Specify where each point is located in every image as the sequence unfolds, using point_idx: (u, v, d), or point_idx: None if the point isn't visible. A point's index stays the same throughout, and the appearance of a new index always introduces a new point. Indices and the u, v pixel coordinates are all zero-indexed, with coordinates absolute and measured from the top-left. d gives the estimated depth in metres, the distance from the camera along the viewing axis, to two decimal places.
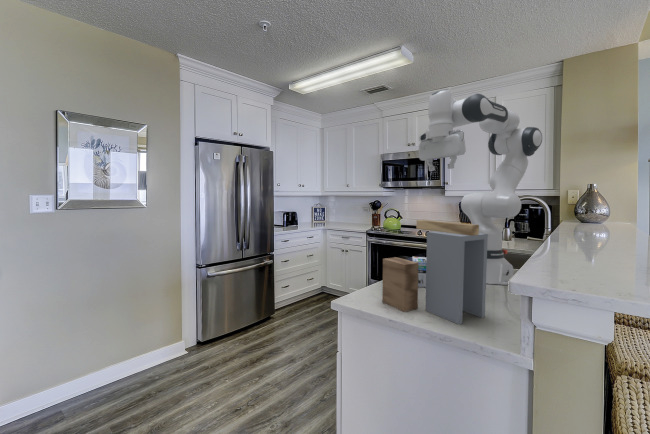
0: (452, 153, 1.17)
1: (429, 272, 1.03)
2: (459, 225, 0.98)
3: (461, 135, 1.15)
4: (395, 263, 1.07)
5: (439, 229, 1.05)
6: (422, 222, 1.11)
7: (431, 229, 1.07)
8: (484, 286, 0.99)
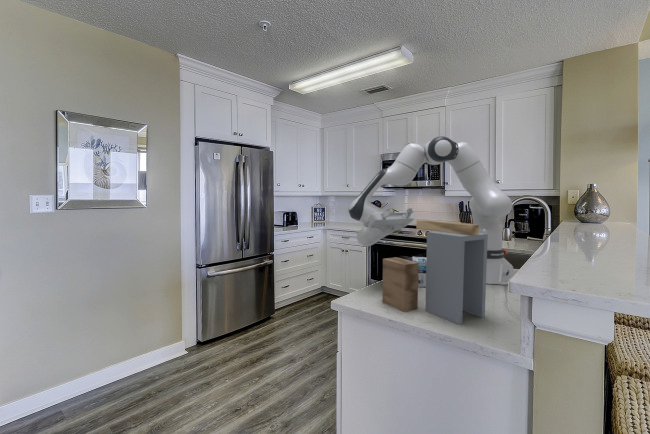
0: (381, 221, 1.22)
1: (429, 272, 1.03)
2: (459, 225, 0.98)
3: (366, 224, 1.26)
4: (395, 263, 1.07)
5: (439, 229, 1.05)
6: (422, 222, 1.11)
7: (431, 229, 1.07)
8: (484, 286, 0.99)
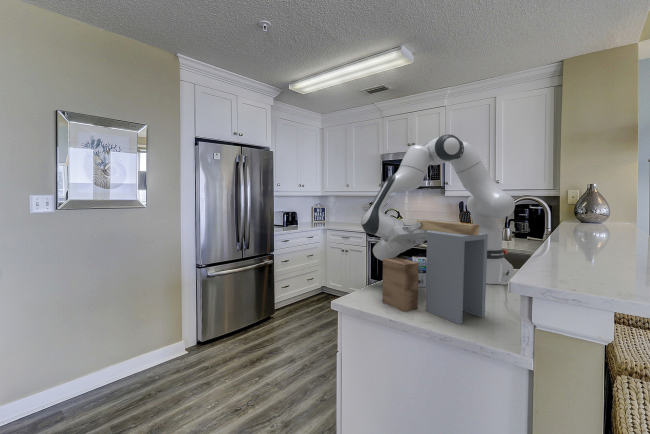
0: (403, 235, 1.12)
1: (429, 272, 1.03)
2: (459, 225, 0.98)
3: (385, 239, 1.16)
4: (395, 263, 1.07)
5: (439, 229, 1.05)
6: (422, 222, 1.11)
7: (431, 229, 1.07)
8: (484, 286, 0.99)
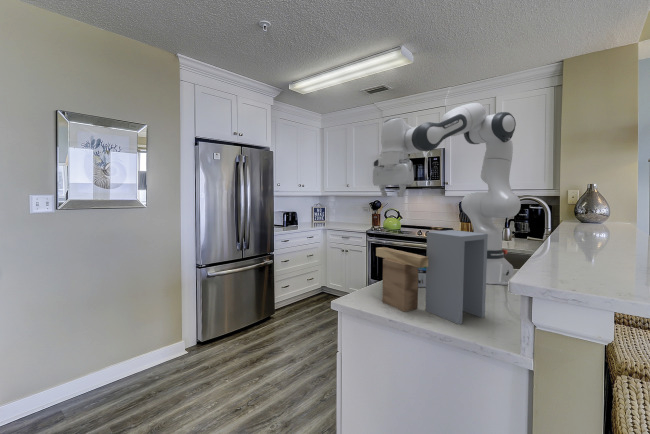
0: (401, 182, 1.16)
1: (429, 272, 1.03)
2: (410, 257, 1.02)
3: (409, 165, 1.14)
4: (395, 263, 1.07)
5: (394, 258, 1.09)
6: (380, 250, 1.16)
7: (387, 258, 1.12)
8: (484, 286, 0.99)
